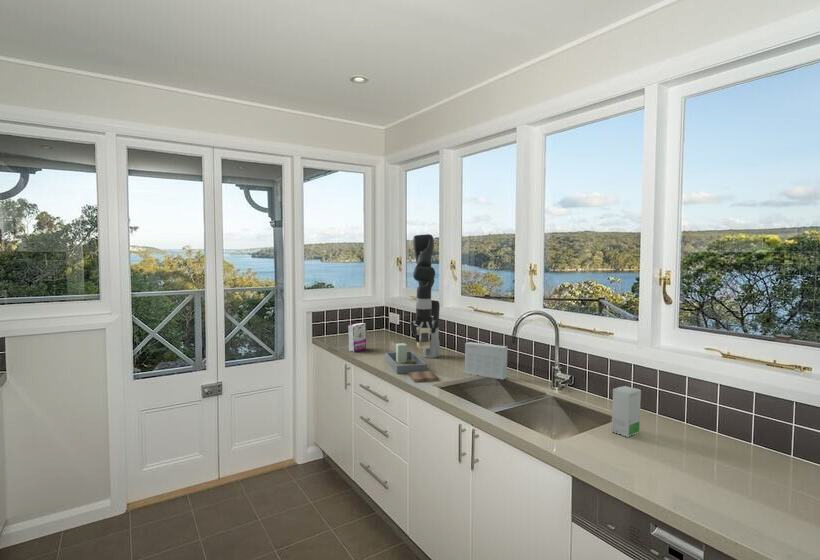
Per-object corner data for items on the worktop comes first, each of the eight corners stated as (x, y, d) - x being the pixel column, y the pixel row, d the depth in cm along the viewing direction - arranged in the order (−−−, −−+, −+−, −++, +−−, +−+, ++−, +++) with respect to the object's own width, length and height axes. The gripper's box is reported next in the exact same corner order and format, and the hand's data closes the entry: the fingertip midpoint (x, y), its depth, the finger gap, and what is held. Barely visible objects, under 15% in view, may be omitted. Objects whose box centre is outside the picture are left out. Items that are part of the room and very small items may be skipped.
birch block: (429, 348, 223) (429, 328, 222) (419, 348, 222) (420, 328, 221) (426, 346, 228) (426, 326, 227) (416, 346, 227) (417, 326, 226)
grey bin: (411, 358, 266) (411, 351, 266) (426, 371, 237) (426, 364, 237) (384, 359, 262) (384, 352, 262) (396, 373, 233) (396, 366, 233)
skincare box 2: (627, 438, 156) (629, 393, 155) (609, 431, 162) (611, 388, 161) (640, 432, 161) (642, 389, 160) (622, 426, 167) (624, 384, 166)
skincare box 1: (507, 377, 228) (508, 346, 227) (503, 380, 224) (504, 348, 223) (468, 371, 239) (468, 341, 238) (463, 373, 234) (464, 343, 233)
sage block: (404, 360, 260) (404, 343, 260) (406, 362, 255) (406, 345, 255) (396, 361, 259) (396, 343, 258) (398, 363, 254) (398, 345, 253)
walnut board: (430, 373, 233) (431, 370, 233) (438, 380, 222) (438, 377, 222) (408, 375, 230) (408, 372, 230) (414, 382, 219) (414, 379, 219)
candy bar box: (360, 348, 291) (360, 322, 290) (366, 349, 288) (366, 323, 287) (348, 351, 282) (348, 324, 281) (353, 352, 279) (353, 325, 278)
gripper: (411, 308, 218) (411, 344, 219) (440, 308, 222) (439, 342, 223) (407, 306, 225) (407, 340, 227) (435, 306, 229) (434, 339, 230)
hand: (423, 341), depth 225 cm, fingers closed on birch block, 5 cm apart
